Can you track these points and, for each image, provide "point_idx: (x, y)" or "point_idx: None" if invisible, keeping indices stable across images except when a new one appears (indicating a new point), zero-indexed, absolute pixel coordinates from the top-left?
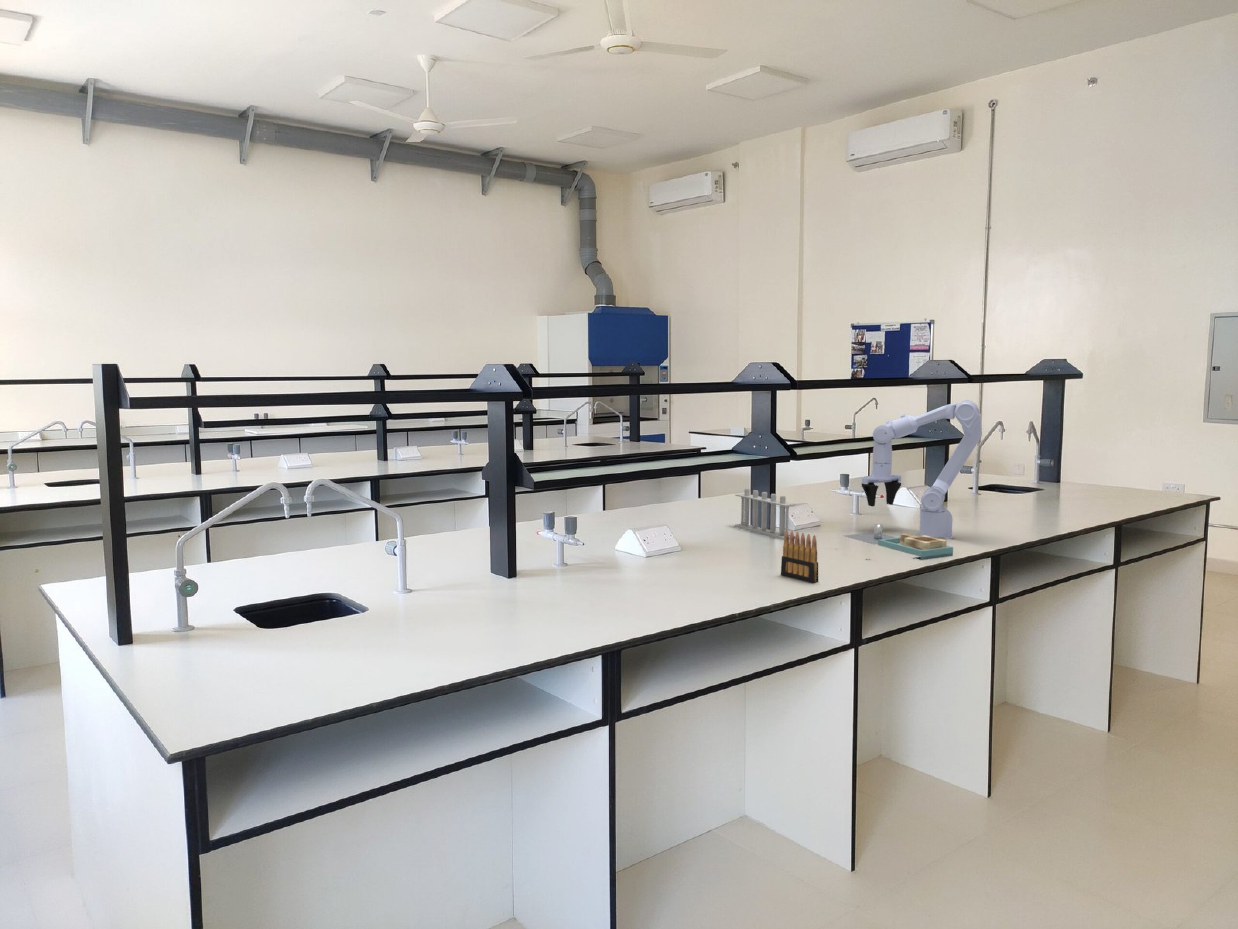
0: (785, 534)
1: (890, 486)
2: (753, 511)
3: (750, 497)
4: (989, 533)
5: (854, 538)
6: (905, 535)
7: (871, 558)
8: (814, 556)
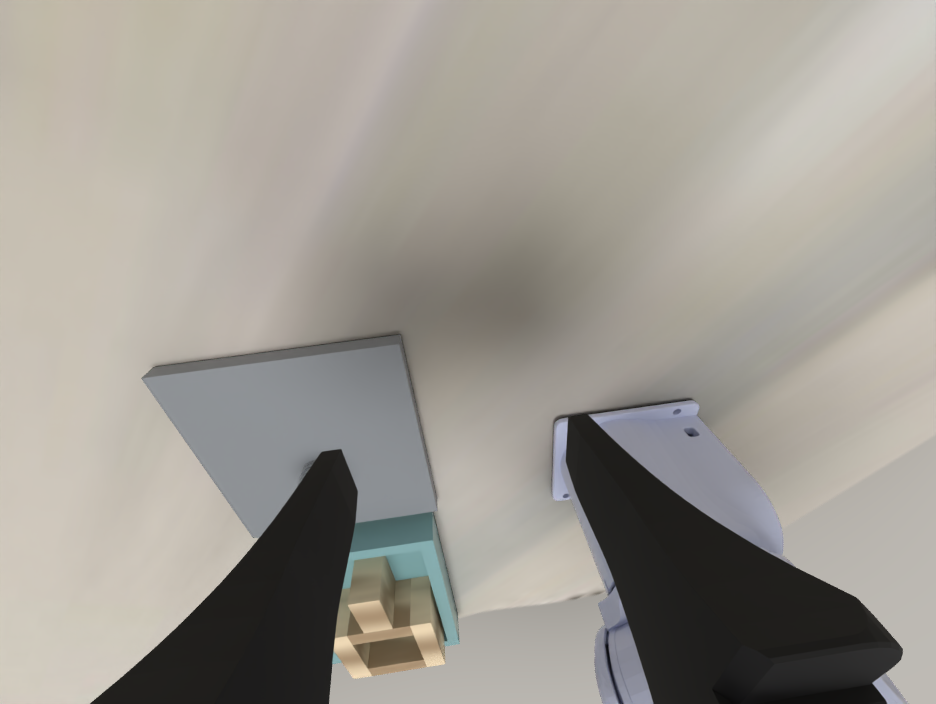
0: None
1: (668, 657)
2: None
3: None
4: (895, 430)
5: (197, 446)
6: (355, 617)
7: (184, 612)
8: None
